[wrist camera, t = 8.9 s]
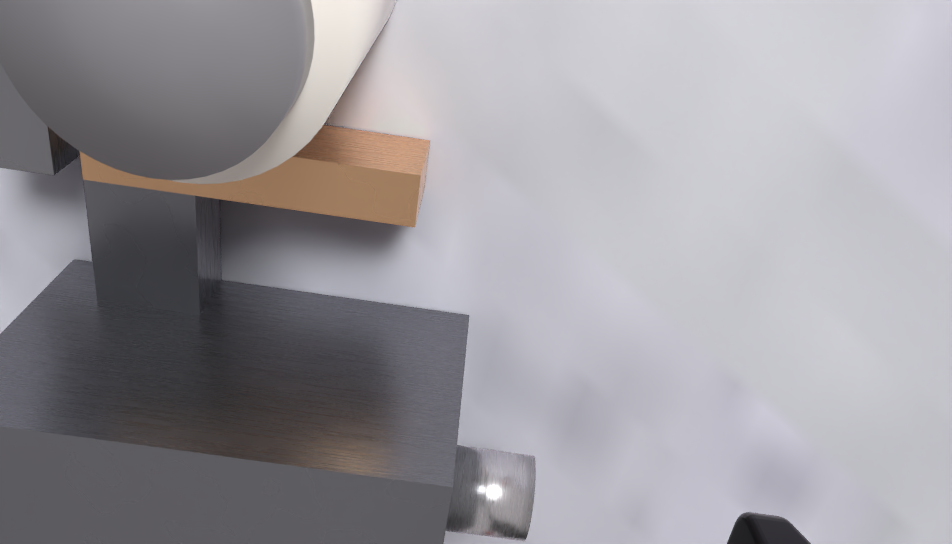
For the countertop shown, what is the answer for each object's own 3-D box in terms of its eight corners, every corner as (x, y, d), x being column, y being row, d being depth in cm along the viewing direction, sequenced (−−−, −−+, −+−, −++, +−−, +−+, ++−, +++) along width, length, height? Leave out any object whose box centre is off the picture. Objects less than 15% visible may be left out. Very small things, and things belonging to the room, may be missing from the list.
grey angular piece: (509, 495, 24) (507, 689, 18) (86, 438, 23) (-39, 620, 18) (677, -266, 14) (768, -309, 9) (-25, -382, 14) (-352, -496, 9)
